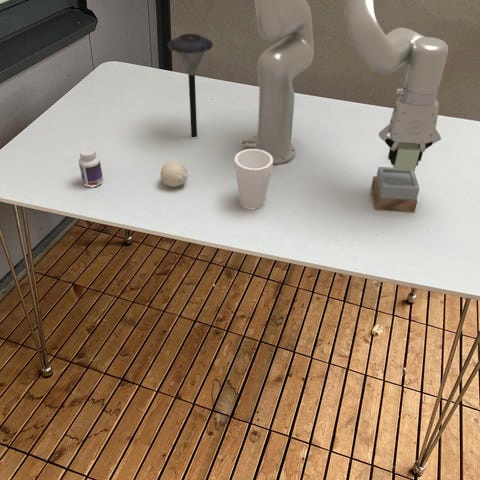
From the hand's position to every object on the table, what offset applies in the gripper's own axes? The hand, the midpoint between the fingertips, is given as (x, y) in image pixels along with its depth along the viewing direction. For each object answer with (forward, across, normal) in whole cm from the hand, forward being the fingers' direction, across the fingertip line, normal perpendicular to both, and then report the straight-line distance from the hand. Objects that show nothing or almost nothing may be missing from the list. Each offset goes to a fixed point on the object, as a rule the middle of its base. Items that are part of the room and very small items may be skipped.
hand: (403, 161), depth 142 cm
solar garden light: (+12, -56, +27) cm, 63 cm away
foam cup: (+12, -37, -4) cm, 39 cm away
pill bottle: (+12, -80, +1) cm, 81 cm away
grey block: (+8, 0, 0) cm, 8 cm away
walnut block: (+12, -1, 0) cm, 12 cm away
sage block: (+1, 0, 0) cm, 1 cm away
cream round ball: (+12, -58, +2) cm, 59 cm away
